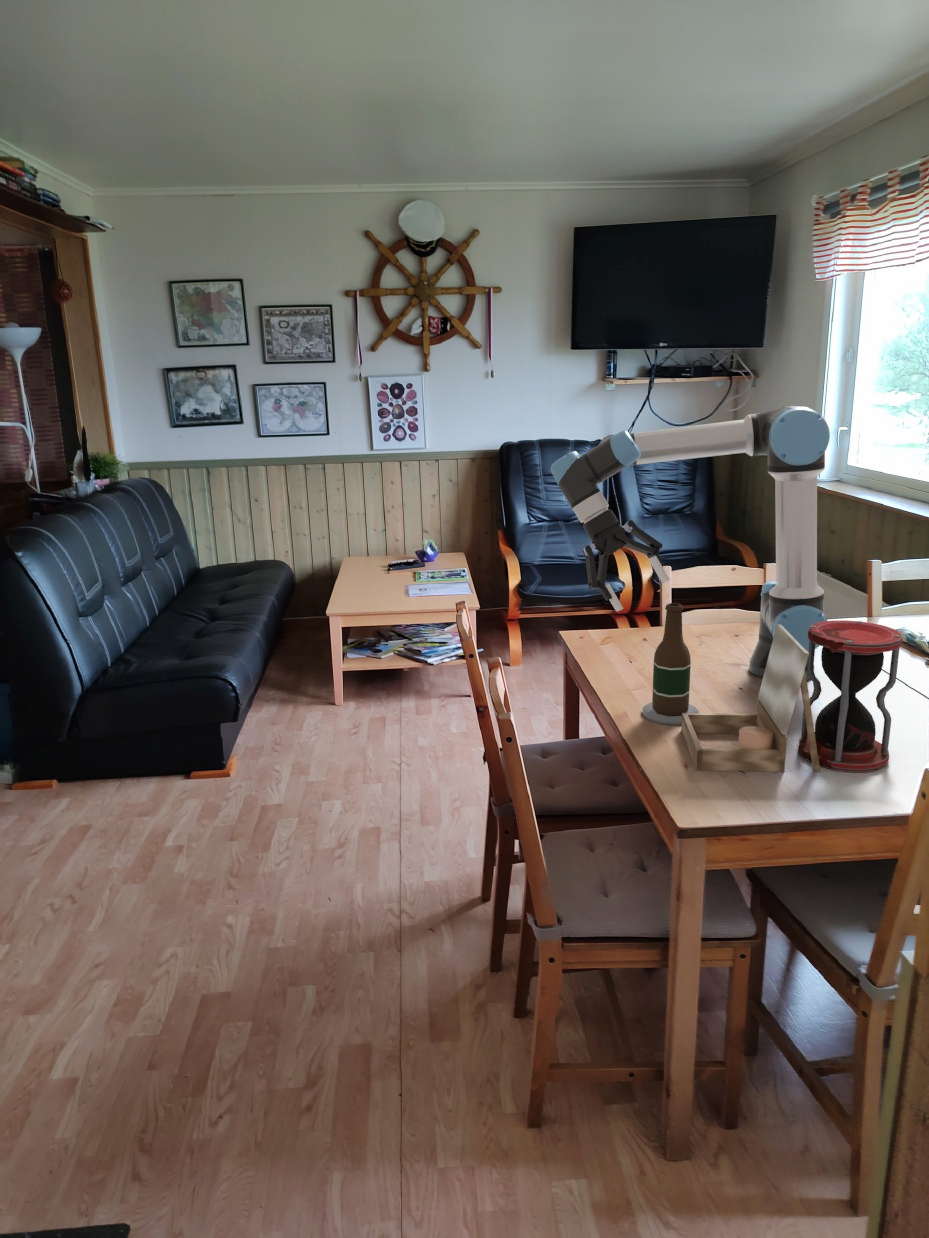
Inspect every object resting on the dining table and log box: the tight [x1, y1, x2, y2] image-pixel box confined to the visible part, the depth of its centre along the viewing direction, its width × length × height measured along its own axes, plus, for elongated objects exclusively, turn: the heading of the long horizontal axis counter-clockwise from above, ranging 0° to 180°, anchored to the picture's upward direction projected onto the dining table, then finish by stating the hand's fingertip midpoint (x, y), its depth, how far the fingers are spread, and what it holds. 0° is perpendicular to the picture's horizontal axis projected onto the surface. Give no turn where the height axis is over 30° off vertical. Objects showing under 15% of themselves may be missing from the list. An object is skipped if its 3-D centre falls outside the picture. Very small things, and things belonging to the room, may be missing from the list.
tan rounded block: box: [737, 726, 773, 749], centre depth 163 cm, size 6×6×6 cm
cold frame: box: [680, 624, 821, 773], centre depth 165 cm, size 23×19×24 cm
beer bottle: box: [651, 602, 692, 716], centre depth 184 cm, size 8×8×24 cm
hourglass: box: [797, 619, 903, 773], centre depth 162 cm, size 16×16×25 cm
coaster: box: [642, 701, 700, 726], centre depth 187 cm, size 12×12×1 cm
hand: (643, 595), depth 196 cm, fingers open, 13 cm apart
